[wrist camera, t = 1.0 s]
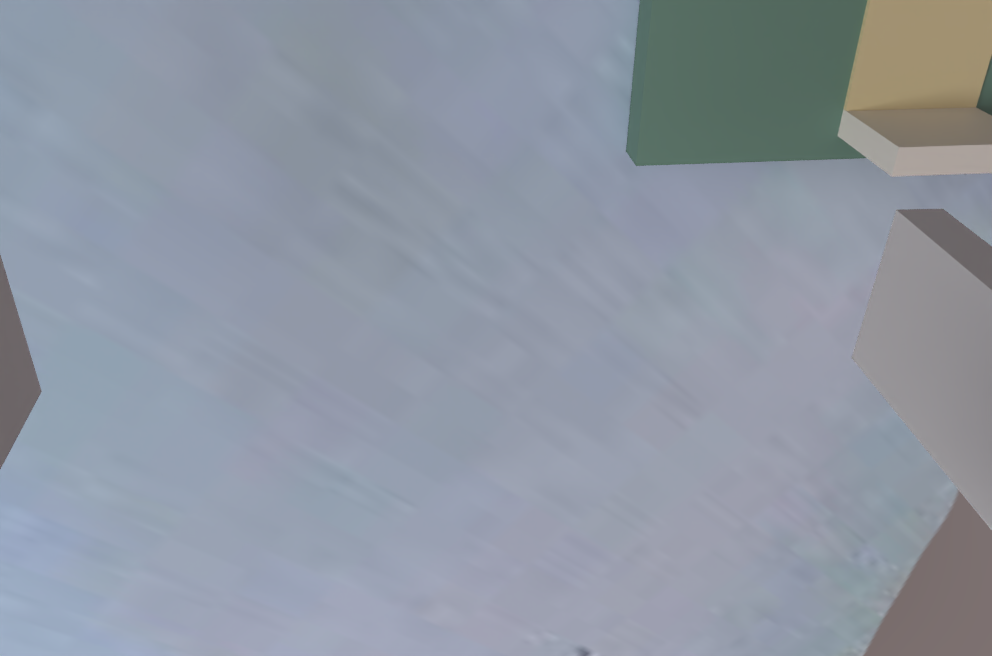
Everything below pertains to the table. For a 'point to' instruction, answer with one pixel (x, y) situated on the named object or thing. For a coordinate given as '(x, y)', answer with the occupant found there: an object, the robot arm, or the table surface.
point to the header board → (814, 83)
